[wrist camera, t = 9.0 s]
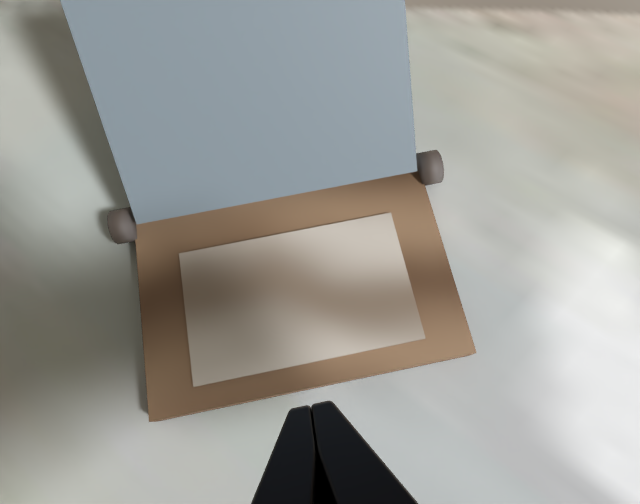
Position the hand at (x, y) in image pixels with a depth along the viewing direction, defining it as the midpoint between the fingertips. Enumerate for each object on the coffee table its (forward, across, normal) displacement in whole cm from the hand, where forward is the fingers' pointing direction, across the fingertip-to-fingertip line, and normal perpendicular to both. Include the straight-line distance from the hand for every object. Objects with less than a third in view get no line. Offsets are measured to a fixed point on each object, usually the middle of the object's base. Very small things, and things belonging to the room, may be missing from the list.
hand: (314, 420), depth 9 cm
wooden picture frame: (+12, 0, +4) cm, 13 cm away
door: (+15, 0, 0) cm, 15 cm away
